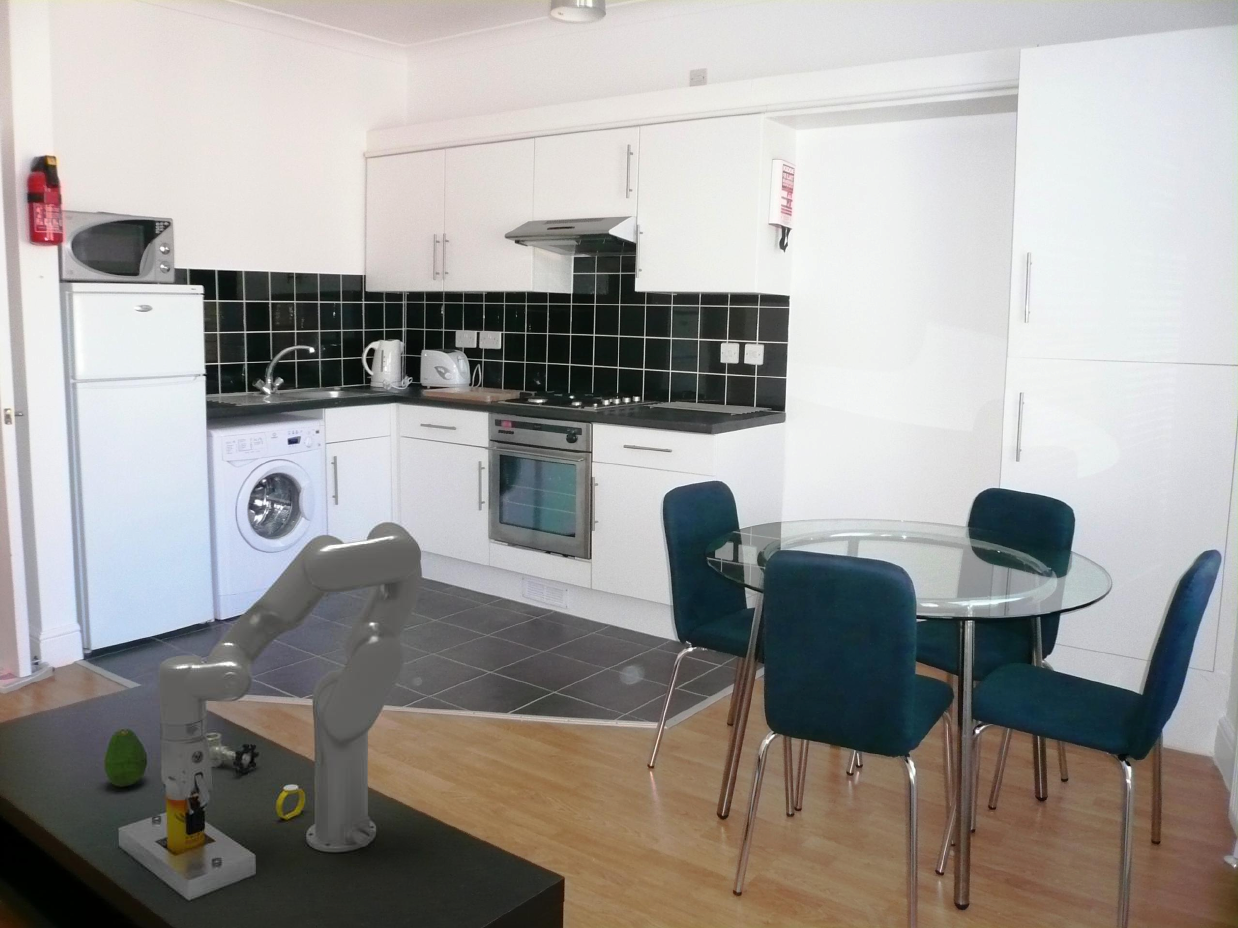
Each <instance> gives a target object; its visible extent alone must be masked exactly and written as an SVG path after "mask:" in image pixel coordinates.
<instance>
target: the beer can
mask: <svg viewBox="0 0 1238 928" xmlns="http://www.w3.org/2000/svg"><path fill="white" fill-rule="evenodd" d="M194 793H197V790H196V789H193V791H191V794H194ZM165 794H166V796H165V809H166V812H165V813H166V815H167V848H168V851H169V852H170V853H171V854H173V855H174V856H177V855H179V854H182V853H185V852H188V851H190V850H193V849H196V848H199V847H202V846H204V845H205V835H204V830H203V831H200V832H198V833H195V834H192V835H187V834H186V814H185V813H188V810H187V805H186V800H185V797H183V796H181V795H180V791H179V788H178V785H177V783H176V781H175V780H171V779H170V778H169V776H168V778H167V781H166V788H165ZM191 800H192V804H194V802H195V801H197V800H198V796H197V797H194V798H191Z"/></svg>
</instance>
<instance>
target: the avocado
mask: <svg viewBox="0 0 1238 928" xmlns="http://www.w3.org/2000/svg"><path fill="white" fill-rule="evenodd" d="M108 742H109V743H108V747H107V750H106V754H105V756H104V761H103V762H104V771H105V774H106V777H107V778H108V780H109V781H110V783H111V784H113V785H114V786H117V787H120V788H125V787H129V786H133V785H134V784H136V783H137V782H138V781H140V780H141V779H142V777H143V776H144V775H145V772H146V768H147V766H148V754H147V751H146V750H145V748H144V745H143V744H142V742H141V740H140V739H139V738H138V736H137V735H136V733H135V732H134V731H133V730H132V729H130V728H121V729H118V730H116V732H114V734H113V735H111V738H110V740H109V741H108Z"/></svg>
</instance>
